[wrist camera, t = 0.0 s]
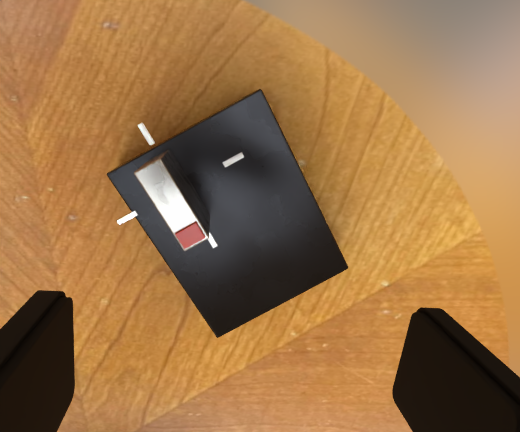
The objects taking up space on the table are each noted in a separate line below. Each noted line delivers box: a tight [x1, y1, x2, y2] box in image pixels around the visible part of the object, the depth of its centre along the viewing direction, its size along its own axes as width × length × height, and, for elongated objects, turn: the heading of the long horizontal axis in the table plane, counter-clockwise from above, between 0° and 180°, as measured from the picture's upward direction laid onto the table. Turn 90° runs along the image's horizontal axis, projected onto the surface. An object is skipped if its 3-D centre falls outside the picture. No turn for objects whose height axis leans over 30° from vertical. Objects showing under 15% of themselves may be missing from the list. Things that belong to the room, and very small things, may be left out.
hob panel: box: [107, 89, 348, 338], centre depth 26 cm, size 16×12×3 cm
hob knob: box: [134, 149, 210, 251], centre depth 21 cm, size 5×2×5 cm, turn 28°
